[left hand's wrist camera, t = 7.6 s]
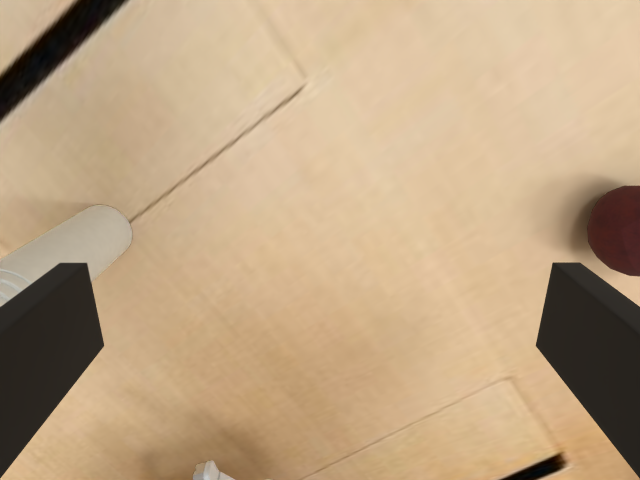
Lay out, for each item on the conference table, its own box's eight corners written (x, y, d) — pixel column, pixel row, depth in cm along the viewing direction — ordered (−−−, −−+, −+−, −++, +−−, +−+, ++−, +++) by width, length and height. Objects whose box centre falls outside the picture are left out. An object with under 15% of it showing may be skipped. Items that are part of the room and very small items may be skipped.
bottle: (80, 255, 43) (-108, 400, 24) (73, 203, 41) (-138, 316, 22) (135, 257, 43) (-10, 404, 24) (129, 206, 41) (-32, 321, 22)
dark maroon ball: (589, 268, 43) (637, 304, 36) (557, 204, 41) (603, 230, 34) (664, 228, 41) (728, 258, 35) (635, 159, 39) (699, 178, 33)
